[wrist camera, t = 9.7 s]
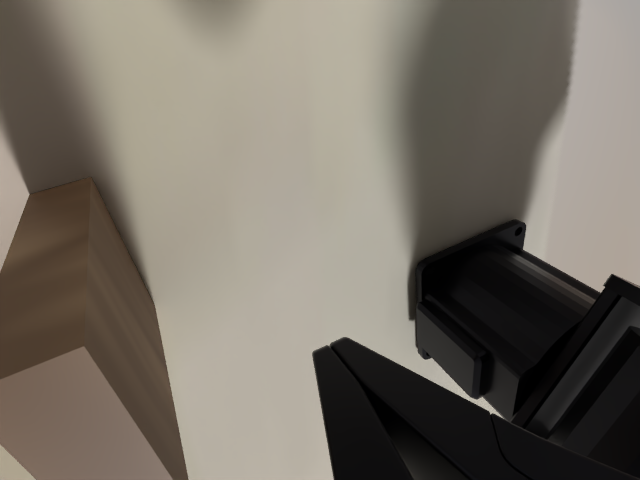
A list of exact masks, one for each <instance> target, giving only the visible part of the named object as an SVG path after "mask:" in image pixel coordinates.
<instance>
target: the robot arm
mask: <svg viewBox="0 0 640 480" xmlns="http://www.w3.org/2000/svg"><path fill="white" fill-rule="evenodd" d="M525 232H526V224H525V223H523V222H521V221H519V220H517V219H515V220H512V221H510V222H507V223H505V224H503V225H501V226H498V227H496V228H494V229H492V230H489V231H487V232H485V233H482V234H480V235H478V236H476V237H473V238H471V239H469V240H467V241H464V242H462V243H460V244H458V245H455V246H453V247H451V248H449V249H446V250H444V251H442V252H439V253H437V254H435V255H433V256H430V257H428V258H426V259H424V260H422V261H421V262H420V263H419V264H418V266H417V268H416V296H417V307H416V323H417V342H418V353H419V354H420V356H421V357H422V358H423V359H430V358H433V359H434V360H435V361H436V362H437V363H438V364H439V365H440V366H441V367H442V369H443V370H444V371H445V372H446V373H447V374H448V375H449V376H450V377H451V378H452V379H453V380H454V381H455V382H456V383H457V384H458V385H459V386H460V387H461V388H462V389H463V390H464V391H465V392H466V393H467V394H468V395H469V396H470V397H471V398H474V399H479V398H481V397H483V398H484V399H485V400H486V401H487V402H488V403H489V404H490V405H491V406H492V407H493V408H494V409H495V410H496V411H497V412H498V413H499V414H500V415H501V416H502V417H503V418H504V419H503V418H501V417H499V416H497V415H495V414H491V415H490V412H489V411H487V410H485V409H484V408H482V407H480V406H478V405H476V404H474V403H472V402H470V401H468V400H466V399H464V398H462V397H461V396H459V395H457V394H455V393H453V392H451V391H449V390H447V389H445V388H443V387H441V386H440V385H438V384H436V383H434V382H432V381H430V380H428V379H426V378H424V377H422V376H420V375H418V374H417V373H415V372H413V371H411V370H409V369H407V368H405V367H403V366H401V365H399V364H397V363H395V362H394V361H392V360H390V359H388V358H386V357H384V356H382V355H380V354H378V353H376V352H374V351H373V350H371V349H369V348H367V347H365V346H363V345H361V344H359V343H357V342H355V341H353V340H351V339H350V338H347V337H343V338H341V339H339V340H336V341H334V342H332V343H331V344H330V346H328V345H326V346H324V347H322V348H319V349H317V350H315V351H314V352H313V353H312V356H313V362H314V368H315V373H316V379H317V385H318V391H319V397H320V402H321V408H322V414H323V420H324V426H325V431H326V437H327V443H328V449H329V455H330V460H331V466H332V472H333V478H334V480H640V286H638V285H636V284H634V283H631V282H629V281H627V280H625V279H622V278H620V277H618V276H616V275H614V274H611V275H610V277H609V278H608V279H607V281H606V282H605V283H604V285H603V286H605V288H604V290H603V291H602V292H601V293H600V292H598V291H596V290H594V289H593V288H591V287H589V286H587V285H585V284H584V283H582V282H580V281H578V280H576V279H575V278H573V277H571V276H569V275H568V274H566V273H564V272H562V271H560V270H558V269H557V268H555V267H553V266H551V265H550V264H548V263H546V262H544V261H542V260H541V259H539V258H537V257H535V256H533V255H532V254H530V253H528V252H526V251H525V250H523V245H524V238H525Z"/></svg>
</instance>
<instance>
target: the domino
mask: <svg viewBox="0 0 640 480" xmlns="http://www.w3.org/2000/svg"><path fill="white" fill-rule="evenodd" d="M0 445H2V446H3V447H4V448H5V449H6V450H7V451H8V452H9V453H10V454H11V455H12V456H13V457H14V458H15V459H16V460H17V461H18V462H19V463H20V464H21V465H22V466H23V467H24V468H25V469H26V470H27V471H28V472H29V473H30V474H31V475H32V476H33V477H34V478H35V479H36V480H188V475H187V470H186V464H185V459H184V454H183V449H182V444H181V438H180V433H179V428H178V423H177V418H176V413H175V407H174V402H173V397H172V392H171V387H170V382H169V376H168V371H167V366H166V361H165V356H164V350H163V345H162V340H161V335H160V330H159V325H158V319H157V314H156V309H155V305H154V303H153V301H152V299H151V297H150V295H149V293H148V291H147V289H146V287H145V285H144V283H143V281H142V279H141V277H140V275H139V273H138V271H137V269H136V267H135V265H134V263H133V261H132V259H131V257H130V255H129V253H128V251H127V249H126V247H125V245H124V243H123V240H122V238H121V236H120V234H119V232H118V230H117V228H116V226H115V224H114V222H113V220H112V218H111V216H110V214H109V212H108V210H107V208H106V206H105V204H104V202H103V200H102V198H101V196H100V194H99V192H98V190H97V188H96V186H95V184H94V182H93V180H92V178H91V177H89V178H85V179H82V180H78V181H75V182H71V183H68V184H64V185H61V186H57V187H54V188H50V189H47V190H43V191H40V192H37V193H33V194H30V195H29V198H28V200H27V203H26V206H25V208H24V211H23V214H22V216H21V219H20V222H19V224H18V227H17V230H16V232H15V235H14V238H13V240H12V243H11V246H10V248H9V251H8V254H7V256H6V259H5V262H4V264H3V267H2V270H1V272H0Z"/></svg>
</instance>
